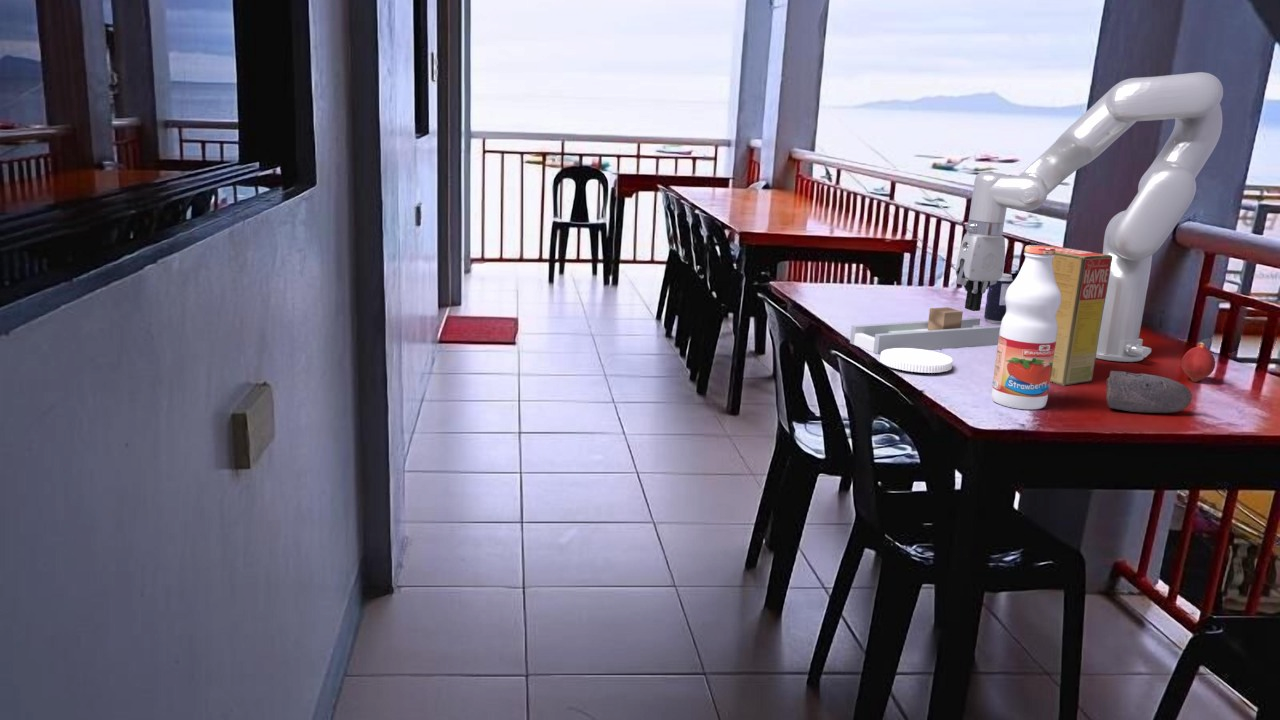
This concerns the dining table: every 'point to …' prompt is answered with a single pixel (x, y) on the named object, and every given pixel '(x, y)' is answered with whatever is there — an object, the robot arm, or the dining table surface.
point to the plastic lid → (916, 360)
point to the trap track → (922, 336)
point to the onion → (1198, 362)
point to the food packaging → (1078, 312)
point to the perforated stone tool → (1146, 393)
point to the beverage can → (997, 299)
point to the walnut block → (944, 318)
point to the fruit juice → (1028, 333)
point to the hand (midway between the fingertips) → (972, 309)
